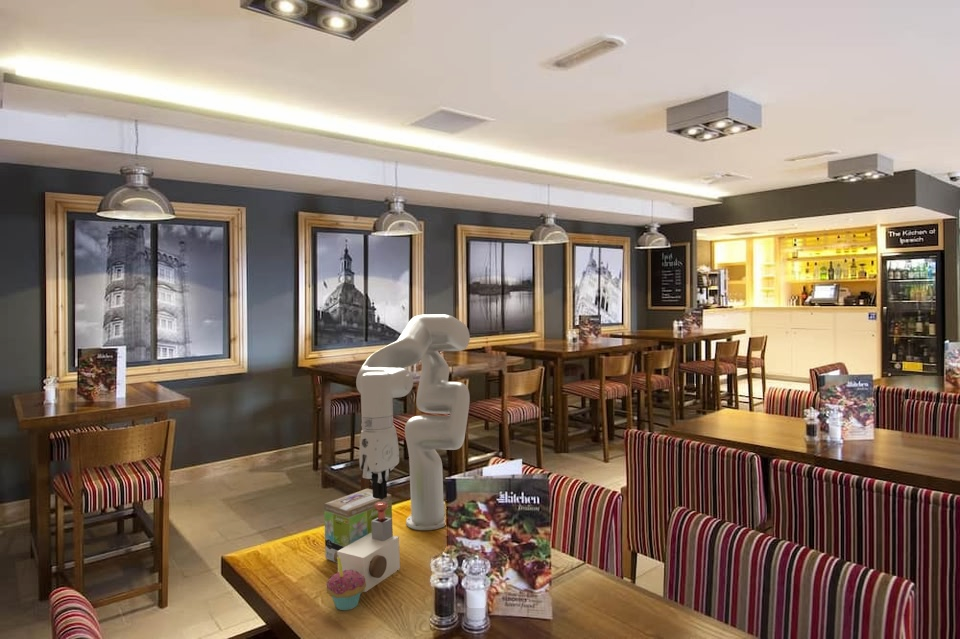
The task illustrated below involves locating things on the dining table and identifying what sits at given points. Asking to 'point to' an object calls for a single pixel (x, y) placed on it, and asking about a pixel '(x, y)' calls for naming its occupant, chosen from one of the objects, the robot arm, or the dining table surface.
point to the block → (372, 552)
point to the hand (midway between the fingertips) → (379, 497)
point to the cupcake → (345, 587)
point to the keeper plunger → (381, 510)
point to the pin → (374, 565)
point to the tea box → (350, 519)
